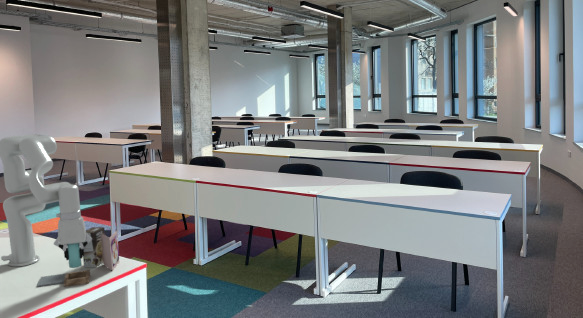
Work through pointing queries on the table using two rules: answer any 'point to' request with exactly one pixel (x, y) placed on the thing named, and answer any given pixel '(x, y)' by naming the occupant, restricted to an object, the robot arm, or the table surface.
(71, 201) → the robot arm
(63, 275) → the mat
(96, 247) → the coffee box
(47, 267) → the table surface
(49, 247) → the table surface
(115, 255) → the greeting card
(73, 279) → the pocket
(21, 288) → the table surface
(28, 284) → the table surface
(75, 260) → the peg
